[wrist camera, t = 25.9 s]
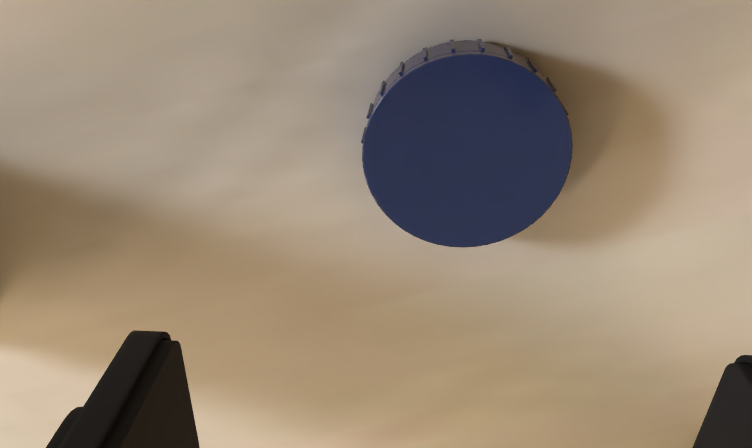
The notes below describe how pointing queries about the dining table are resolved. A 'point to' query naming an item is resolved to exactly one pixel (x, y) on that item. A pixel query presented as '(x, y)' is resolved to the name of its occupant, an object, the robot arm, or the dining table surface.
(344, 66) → the dining table surface
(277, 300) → the dining table surface
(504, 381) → the dining table surface
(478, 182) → the jar lid
